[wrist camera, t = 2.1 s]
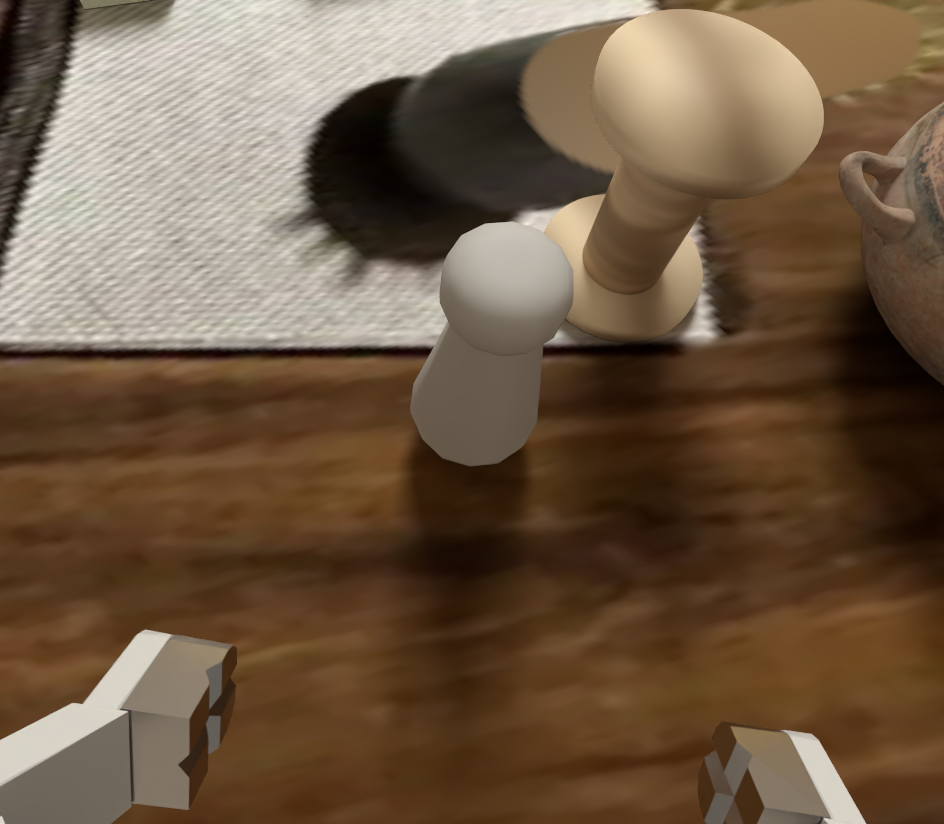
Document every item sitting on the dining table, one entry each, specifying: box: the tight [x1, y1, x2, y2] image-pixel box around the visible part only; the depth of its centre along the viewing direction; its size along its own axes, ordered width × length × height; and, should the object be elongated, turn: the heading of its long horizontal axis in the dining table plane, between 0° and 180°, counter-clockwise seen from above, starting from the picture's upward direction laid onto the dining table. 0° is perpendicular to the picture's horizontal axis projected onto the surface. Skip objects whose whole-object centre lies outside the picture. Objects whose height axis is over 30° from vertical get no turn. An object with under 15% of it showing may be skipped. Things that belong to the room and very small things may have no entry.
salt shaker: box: [410, 222, 573, 466], centre depth 26 cm, size 6×6×13 cm
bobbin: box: [544, 9, 824, 342], centre depth 31 cm, size 9×9×12 cm
